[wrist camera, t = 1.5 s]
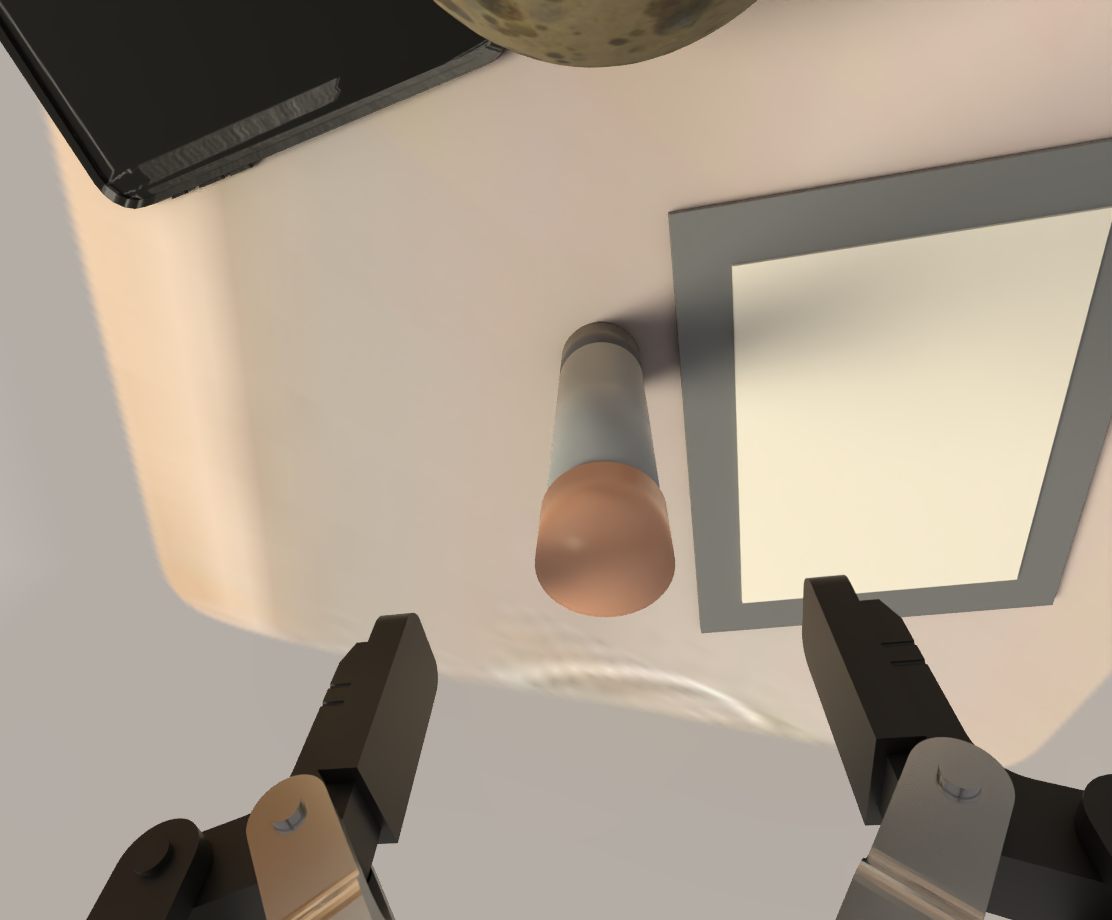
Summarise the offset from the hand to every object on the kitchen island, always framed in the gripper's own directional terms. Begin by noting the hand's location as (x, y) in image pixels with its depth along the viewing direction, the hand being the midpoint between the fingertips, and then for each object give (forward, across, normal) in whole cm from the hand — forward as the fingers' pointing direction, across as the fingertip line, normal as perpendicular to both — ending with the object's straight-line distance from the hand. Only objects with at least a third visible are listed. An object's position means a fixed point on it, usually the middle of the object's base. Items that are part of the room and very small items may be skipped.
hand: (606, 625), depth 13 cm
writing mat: (+14, -11, +5) cm, 18 cm away
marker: (+14, 0, 0) cm, 14 cm away
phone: (+14, +9, -13) cm, 21 cm away
